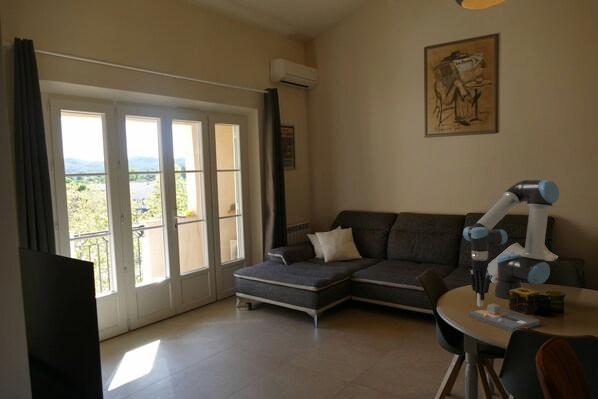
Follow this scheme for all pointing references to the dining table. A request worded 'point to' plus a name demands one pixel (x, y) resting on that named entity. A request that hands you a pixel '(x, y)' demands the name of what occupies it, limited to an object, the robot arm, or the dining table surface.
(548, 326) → the dining table surface
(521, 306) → the brown and yellow box
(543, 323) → the dining table surface
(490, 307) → the breaker slider
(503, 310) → the breaker panel
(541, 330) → the dining table surface
